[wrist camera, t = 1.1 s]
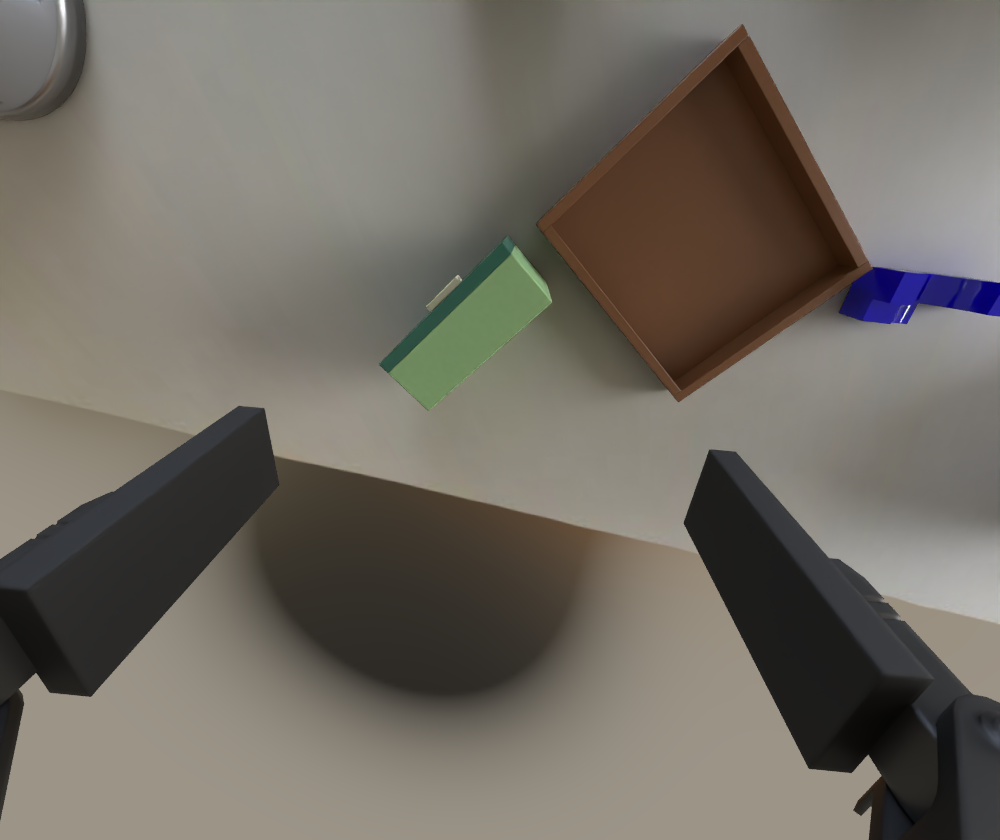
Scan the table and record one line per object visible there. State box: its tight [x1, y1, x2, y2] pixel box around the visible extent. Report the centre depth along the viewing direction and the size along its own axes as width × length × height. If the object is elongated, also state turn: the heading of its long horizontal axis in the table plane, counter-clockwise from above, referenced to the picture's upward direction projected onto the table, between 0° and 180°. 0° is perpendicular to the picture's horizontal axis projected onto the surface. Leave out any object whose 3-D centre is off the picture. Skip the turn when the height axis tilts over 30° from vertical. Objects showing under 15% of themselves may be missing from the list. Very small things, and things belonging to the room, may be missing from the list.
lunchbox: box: [379, 236, 552, 411], centre depth 30 cm, size 5×11×8 cm, turn 132°
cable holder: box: [839, 266, 1000, 324], centre depth 30 cm, size 8×4×4 cm, turn 84°
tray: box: [536, 24, 873, 402], centre depth 29 cm, size 17×15×2 cm
